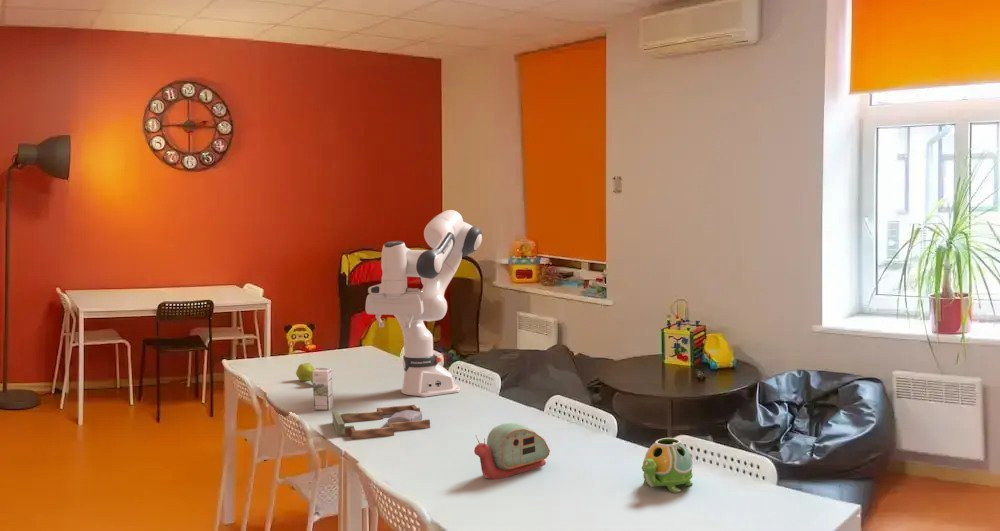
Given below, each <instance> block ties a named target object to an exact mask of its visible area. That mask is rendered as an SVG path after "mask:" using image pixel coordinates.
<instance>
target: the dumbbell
mask: <svg viewBox="0 0 1000 531" xmlns="http://www.w3.org/2000/svg"><path fill="white" fill-rule="evenodd" d="M314 369H315V368H314V366H313V365H312V364H311V363H309V362H304V363H300V364H299V365H298V367H297V369H296V372H295V376H296V377H297V378H298V380H299V381H300V382H307V381H310V382H311V383H312V385H313V370H314Z"/></svg>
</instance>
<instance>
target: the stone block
mask: <svg viewBox="0 0 1000 531" xmlns="http://www.w3.org/2000/svg"><path fill="white" fill-rule="evenodd" d="M417 420H423V411H421V410H420V412H419V411H413V410H406V411H401V412H397V413H395V414H394V415H392V416H391V417H389V418H387V420H386V421H387V423H396V422H407V421H417ZM387 423H386V424H387Z"/></svg>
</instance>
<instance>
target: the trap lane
mask: <svg viewBox="0 0 1000 531" xmlns="http://www.w3.org/2000/svg"><path fill="white" fill-rule="evenodd" d="M406 410H413V411H419V412H420V411H421V408H420V407H417V406H416V404H407V405H406V404H405V405H397V406H394V405H393V406H384V407H382V406H381V407H376V411H369V412H367V411H365V412H358V411H357V412H356V411H354V412H344V413H343V412H342V413H340V412H339V410H332V412H331V414H332V417H331V418H332V425H333V427H334V429H335V432H336V433H337V436H338V437H348V436H350V438H351V439H352V440H360V439H370V438H380V437H381V438H382V437H390V436H391V437H392V436H395V432H401V431H409V430H410V431H411V430H420V429H431V420H430V419H422V420H417V421H407V422H396V423H386V424H387V426H386V427H377V428H367V429H355V426H354V424H353V425H345V423H354V422H365V421H375V420H377V421H378V420H383V419H385V418H387V419H388V418H391V416H392V415H394V414H395V413H397V412H401V411H406Z"/></svg>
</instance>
